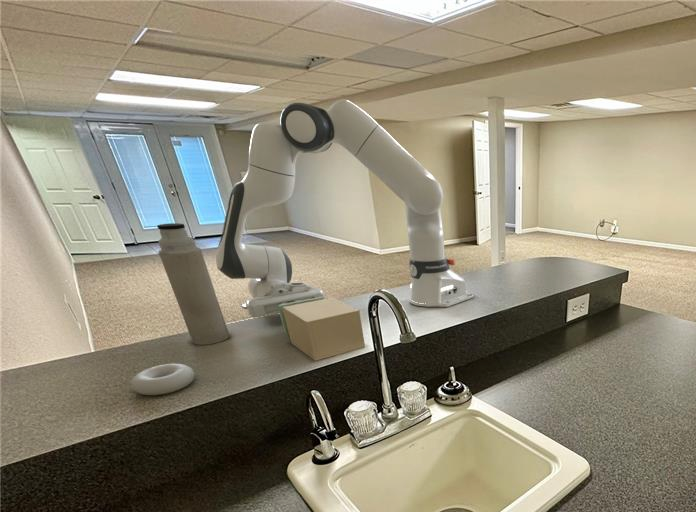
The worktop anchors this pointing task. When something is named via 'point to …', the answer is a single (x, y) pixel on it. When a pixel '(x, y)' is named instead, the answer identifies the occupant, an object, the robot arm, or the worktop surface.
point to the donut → (162, 379)
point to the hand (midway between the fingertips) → (297, 308)
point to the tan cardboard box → (324, 327)
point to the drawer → (290, 305)
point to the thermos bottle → (191, 285)
